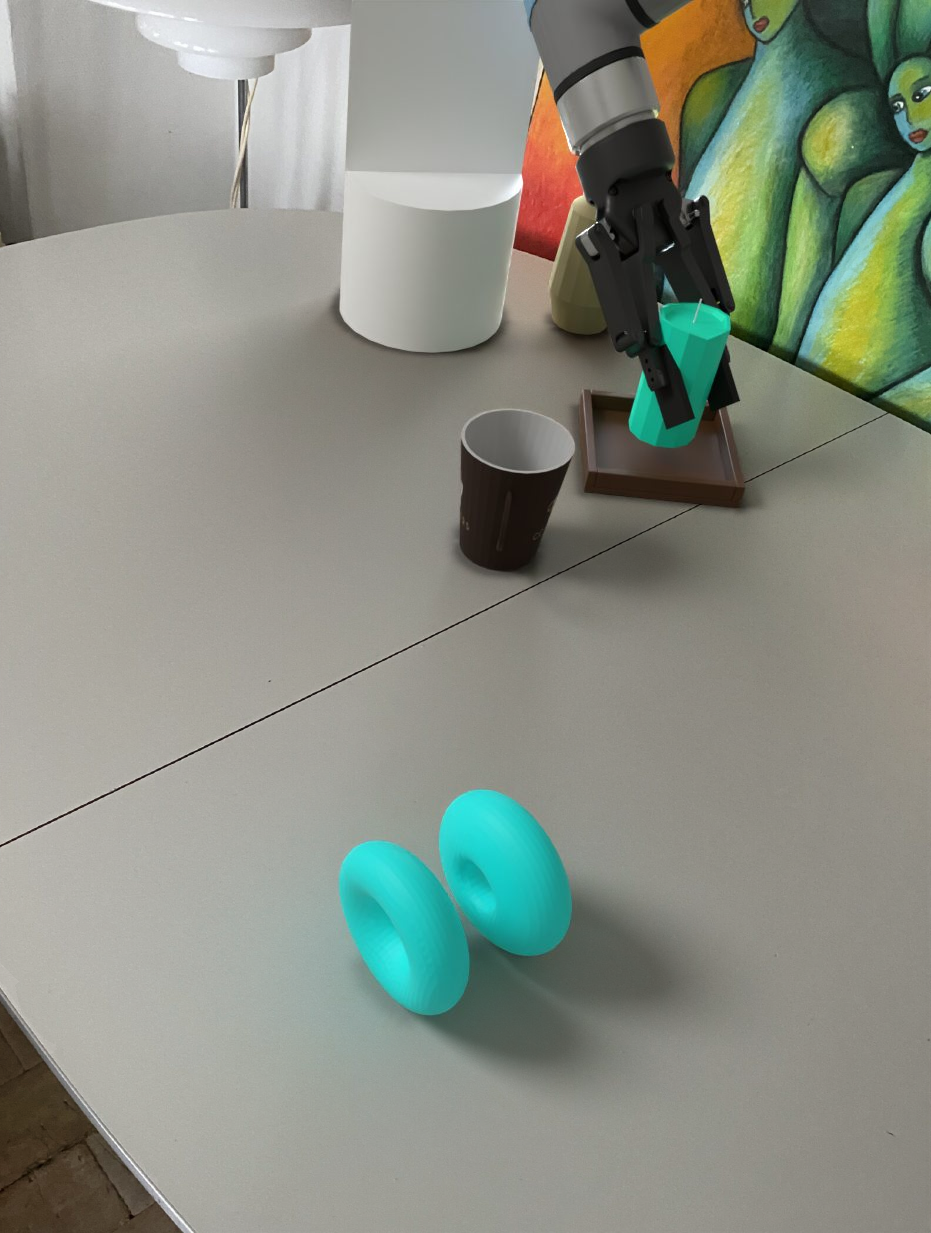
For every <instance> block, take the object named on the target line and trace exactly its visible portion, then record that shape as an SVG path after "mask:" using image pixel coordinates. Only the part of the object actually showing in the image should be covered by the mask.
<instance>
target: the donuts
mask: <svg viewBox="0 0 931 1233" xmlns="http://www.w3.org/2000/svg"><path fill="white" fill-rule="evenodd" d="M552 841H553V840H552V839H551V838H550V836H549V835H548V833H547V832H546V830H545V829H544V828H543V827H542V825H541V824H540V823H539V822H538V820H537V819H536V818H535V817H534V816H533V814H531V812H529V810H527V809H526V808H525V807H524V806H523V805H522V804H520V803H519V802H517V801H516V800H515V799H513V798H512V797H510V796H508V795H506V794H504V793H501V792H500V791H496V790H494V789H493V790H491V789H487V788H486V789H485V788H484V789H483V788H478V789H473V790H469V791H466V792H464V793H462V794H460V795H458V796H457V797H456V798H454V799H453V800H452V802H451V803H450V804H449V805H448V807H447V808H446V810H445V812H444V814H443V816H442V819H441V822H440V826H439V834H438V850H439V858H440V862H441V867H442V870H443V874H444V877H445V880H446V883H447V886H448V888H449V890H450V892H451V895H452V896H453V898H454V899H455V901H456V903H457V905H458V907H459V908H460V910H461V912H462V913H463V914H464V915H465V916H466V919H468V921H469V922H470V924H472V925H473V927H474V928H475V929H476V930H477V931H478V932H479V933H480V934H481V935H482V936H483V937H484V938H486V939H487V940H488V941H489V942H490V943H492V944H493V945H495V946H496V947H498V948H500V949H502V950H504V951H506V952H508V953H510V954H513V955H518V956H522V957H523V956H524V957H535V956H540V955H543V954H544V955H545V954H546V953H548V952H550V951H552V950H554V949H555V948H556V947H557V946H558V945H559V944H560V943H561V942H562V941H563V940H564V938H565V936H566V934H567V932H568V930H569V928H570V925H571V919H572V912H573V901H572V900H573V899H572V898H573V897H572V890H571V886H570V881H569V878H568V874H567V871H566V868H565V866H564V863H563V861H562V858H561V857H560V855H559V852H558V850H557V848H556V846H555V845H554V842H552ZM338 893H339V899H340V905H341V909H342V913H343V916H344V919H345V922H346V925H347V928H348V931H349V933H350V935H351V938H352V940H353V942H354V945H356V949H357V950H358V952H359V954H360V956H361V957H362V960H363V961H364V963H365V964H366V966H367V968H368V969H369V971H370V972H371V974H372V975H373V976H374V978H375V980H376V981H377V982H378V984H380V986H381V987H382V988H383V989H384V991H386V992H387V994H388V995H389V996H390V997H391V998H392V999H393V1000H394V1001H396V1003H398V1004H399V1005H400V1006H402V1007H403V1008H404V1009H406V1010H409V1011H410V1012H413V1013H415V1014H419V1015H422V1016H436V1015H441V1014H444V1013H446V1012H448V1011H449V1010H450V1011H451V1009H452V1008H454V1007H455V1006H456V1005H457V1004H458V1003H459V1001H460V1000H461V998H462V997H463V995H464V993H465V991H466V988H467V985H468V983H469V977H470V963H471V962H470V953H469V951H470V950H469V946H468V940H467V937H466V933H465V930H464V926H463V923H462V921H461V918H460V915H459V913H458V910H457V909H456V907H455V905H454V903H453V901H452V899H451V897H450V895H449V893H448V892H447V890H446V889H445V887H444V886H443V884H442V882H441V881H440V880H439V879H438V878H437V876H436V875H435V874H434V873H433V872H432V870H431V869H430V868H429V867H428V866H427V865H426V864H425V863H424V861H422V860H421V859H420V858H419V857H417V856H416V855H415V854H414V853H413V852H411V851H410V850H408V849H406V848H405V847H402V846H401V845H399V844H396V843H394V842H390V841H386V840H369V841H364V842H362V843H360V844H358V845H356V846H354V847H353V848H352V849H351V850H350V851H349V852H348V853H347V855H346V856H345V858H344V859H343V861H342V864H341V867H340V870H339V875H338Z"/></svg>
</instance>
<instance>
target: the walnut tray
mask: <svg viewBox="0 0 931 1233" xmlns="http://www.w3.org/2000/svg"><path fill="white" fill-rule="evenodd" d="M635 396H636V393H635V394H634V393H625V392H615V391H607V390H606V391H605V390H596V389H586V388H583V389H582V390H581V394H580V397H579V401H578V402H579V403H578V407H577V415H578V416H577V418H578V430H579V443H580V446H579V447H580V457H581V458H580V460H581V470H582V471H581V473H582V490H583V492H584V493H585V492H586V493H593V494H603V495H614V496H623V497H632V498H641V499H651V500H659V501H660V500H661V501H671V502H679V503H680V502H681V503H690V504H699V505H707V506H708V505H709V506H718V507H727V508H737V509H738V508H739V507H740V505H741V502H742V499H743V496H744V494H745V491H746V488H747V487H746V482H745V478H744V474H743V470H742V466H741V462H740V457H739V454H738V449H737V445H736V442H735V441H736V440H735V437H734V432H733V429H732V425H731V420H730V416H729V412H728V408H727V407H728V406H726V407H724V408H721V409H719V410H716V411H714V412H711V410H710V407H709V404H708V401H706V404H705V407H704V410H703V413H702V416H701V419H700V422H699V425H698V428H697V431H696V434H695V437H694V438H693V439H692V440H691V441H690V442H689V444H688V445H685V446H680V447H676V448H667V447H658V446H653V445H651V444H649V443H646V442H644V441H641V440H639V439H638V438H637V437H636V436H635V435H634V434H633V433H632V432H631V431H630V429H629V418H630V414H631V411H632V407H633V403H634V400H635Z"/></svg>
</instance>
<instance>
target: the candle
mask: <svg viewBox="0 0 931 1233" xmlns="http://www.w3.org/2000/svg"><path fill="white" fill-rule="evenodd" d="M701 301H702V299H700V302H699V303H679V302H671V303H670V302H669V303H665V304H663V305H662V306H660V308H659V309H658V310H659V318H660V326H661V334H662V342H661V344H660V346H662V345H664V344H667V346H668V348H669V350H670V352H671V354H672V356H673V358H674V360H675V362H676V364H677V366H678V367H679V369H680V371H681V374H682V377H683V381H684V384H685V387H686V390H687V393H688V397H689V400H690V403H691V406H692V409H693V413H694V416H695V419H693V420H690V421H688V422H685V423H683V424H680V425H677V426H675V427H672V428H670V429H667V430H666V427H665V424H664V421H663V417H662V414H661V411H660V408H659V405H658V402H657V399H656V395H655V392H654V391H652V392H651V390H650V389H649V387H648V385H647V382H646V379H645V375H644V372H643V370H642V372H641V375H640V377H639V378H640V379H639V382H638V386H637V390H636V393H635V395H636V396H635V400H634V403H633V407H632V411H631V414H630V418H629V429H630V431H631V432H632V433H633V434H634V435H635V436H636V437H637V438H638V439H639V440H641V441H644V442H646V443H649V444H651V445H653V446H658V447H667V448H676V447H680V446H685V445H688V444H689V442H690V441H691V440H692V439H693V438H694V437H695V434H696V431H697V428H698V425H699V422H700V419H701V416H702V413H703V410H704V407H705V404H706V402H708V401H707V398H708V395H709V392H710V389H711V386H712V383H713V381H714V378H715V375H716V372H717V369H718V366H719V363H720V360H721V357H722V354H723V351H724V348H725V345H727V342H728V339H729V336H730V334H731V329H732V326H731V315H730V316H729V315H727V314H725V313H724V312H722V311H721V310H719V309H717V308H714V307H711V306H708V305H705V304H702V303H701Z"/></svg>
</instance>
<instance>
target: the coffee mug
mask: <svg viewBox="0 0 931 1233" xmlns="http://www.w3.org/2000/svg"><path fill="white" fill-rule="evenodd" d="M575 450H576V445H575V440H574V437H573V435H572V434H571V432H570V431H569V430H568V429H567V428H566V427H565V426H564V425H563V424H561V423H560V422H558V421H557V420H555V419H553V418H552V417H549V416H547V415H545V414H542V413H539V412H537V411H533V410H528V409H522V408H514V407H512V408H511V407H509V408H508V407H507V408H505V407H504V408H493V409H489V410H485V411H481V412H479V413H477V414H474V415H473V416H471V417H470V418H469V419H467V421H465V423H464V424H463V426H462V428H461V431H460V479H459V480H460V481H459V483H460V484H459V541H458V542H459V543H458V544H459V548H460V551H461V552H462V554H463V555H464V556H465V557H466V559H467V560H468V561H470V562H472V563H473V564H475V565H477V566H479V567H482V568H485V569H487V570H493V571H498V572H499V571H500V572H502V571H504V572H507V571H515V570H519V569H521V568H524V567H526V566H528V565H529V564H530V563H532V562H533V560H534V559H535V557H536V555H537V553H538V551H539V550H538V549H539V548H540V544H541V541H542V540H543V536H544V533H545V531H546V528H547V526H548V523H549V520H550V518H551V515H552V512H553V510H554V507H555V505H556V502H557V499H558V496H559V493H560V492H561V489H562V486H563V483H564V481H565V478H566V475H567V473H568V470H569V468H570V464H571V462H572V460H573V457H574V454H575Z"/></svg>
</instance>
